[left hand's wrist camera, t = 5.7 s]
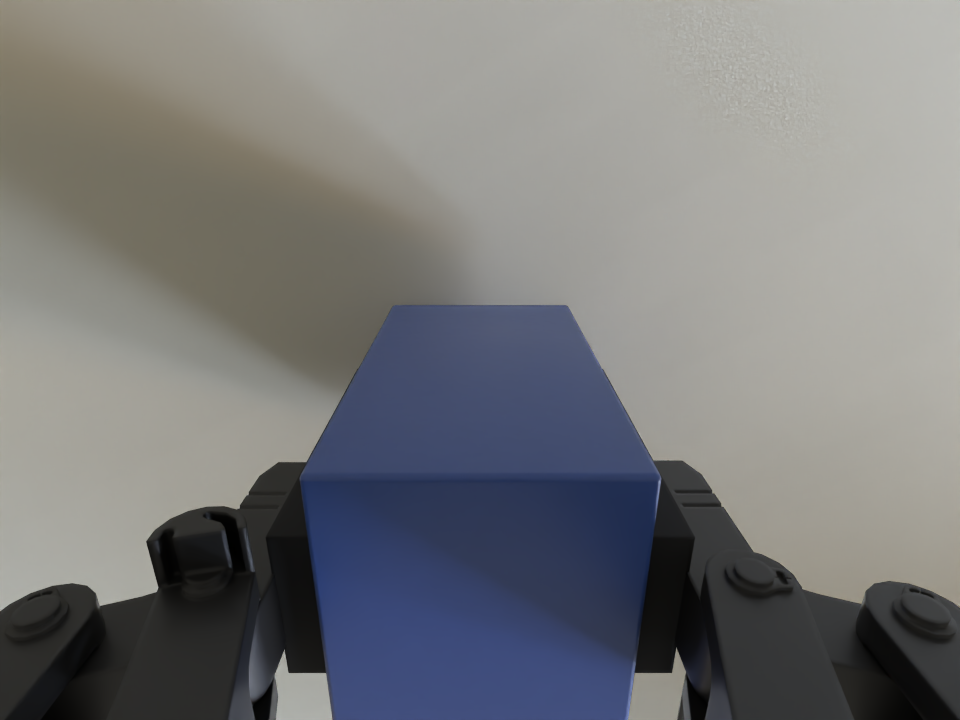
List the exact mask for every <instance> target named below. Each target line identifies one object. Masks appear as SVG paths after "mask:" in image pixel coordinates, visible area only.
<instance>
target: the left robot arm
mask: <svg viewBox="0 0 960 720" xmlns="http://www.w3.org/2000/svg"><path fill="white" fill-rule="evenodd" d="M602 370H603V369H602ZM357 371H358V369H357ZM357 371H356V373H357ZM603 372H604V370H603ZM356 373H355V374H356ZM604 373H605V372H604ZM605 375H606V374H605ZM354 376H355V375H354ZM606 377H607V376H606ZM353 378H354V377H353ZM353 378H352V380H353ZM607 379H608V377H607ZM352 380H351V382H352ZM608 381H609V379H608ZM351 382H350V384H351ZM609 382H610V381H609ZM350 384H349V385H350ZM610 384H611V383H610ZM611 386H612V385H611ZM348 387H349V386H348ZM612 388H613V386H612ZM347 389H348V388H347ZM347 389H346V391H347ZM613 390H614V388H613ZM346 391H345V393H346ZM614 392H615V390H614ZM345 393H344V395H345ZM615 393H616V392H615ZM344 395H343V396H344ZM616 395H617V394H616ZM617 397H618V396H617ZM342 398H343V397H342ZM342 398H341V400H342ZM618 399H619V397H618ZM341 400H340V402H341ZM619 401H620V399H619ZM340 402H339V404H340ZM620 403H621V401H620ZM339 404H338V406H339ZM621 404H622V403H621ZM338 406H337V407H338ZM622 406H623V405H622ZM623 408H624V407H623ZM336 409H337V408H336ZM336 409H335V411H336ZM624 410H625V408H624ZM335 411H334V413H335ZM625 412H626V410H625ZM334 413H333V415H334ZM626 413H627V412H626ZM333 415H332V417H333ZM627 415H628V414H627ZM332 417H331V418H332ZM628 417H629V416H628ZM629 419H630V417H629ZM330 420H331V419H330ZM330 420H329V422H330ZM630 421H631V419H630ZM329 422H328V424H329ZM631 423H632V421H631ZM328 424H327V426H328ZM632 424H633V423H632ZM327 426H326V428H327ZM633 426H634V425H633ZM326 428H325V429H326ZM634 428H635V427H634ZM325 429H324V431H325ZM635 430H636V428H635ZM324 431H323V433H324ZM636 432H637V430H636ZM323 433H322V435H323ZM637 434H638V432H637ZM322 435H321V437H322ZM638 435H639V434H638ZM321 437H320V439H321ZM639 437H640V436H639ZM320 439H319V440H320ZM640 439H641V438H640ZM319 440H318V442H319ZM641 441H642V439H641ZM318 442H317V444H318ZM642 443H643V441H642ZM317 444H316V446H317ZM643 444H644V443H643ZM316 446H315V448H316ZM644 446H645V445H644ZM315 448H314V450H315ZM645 448H646V447H645ZM314 450H313V451H314ZM646 450H647V448H646ZM313 451H312V453H313ZM647 452H648V450H647ZM312 453H311V455H312ZM648 454H649V452H648ZM311 455H310V457H311ZM649 455H650V454H649ZM310 457H309V459H310ZM650 457H651V456H650ZM309 459H308V461H309ZM651 459H652V458H651ZM308 461H307V462H308ZM652 461H653V459H652ZM307 462H278V463H277V464H276V465H274V466H273V467H272V468H270V469H269V470H267V471H266V472H265V473H263V474H262V475H260V476H259V478H258V479H257V481H256V482H255V484H254V485H253V487H252V488H251V490H250V491H249V495H247V496H246V497H245V499H244V500H243V502H242V503H241V505H240V509H237V510H236V509H232V508H229V507H225V506H217V507H204V508H200V509H195V510H191V511H188V512H185V513H183V514H181V515H178V516H176V517H174V518H172V519H170V520H168V521H167V522H165V523H164V524H163V525H161V526H160V527H158V528H157V529H156V530H155V531H154V532H153V533H152V535H151V536H150V537H149V539H148V540H147V541H146V542H147V546H148V550H149V554H150V557H151V561H152V565H153V569H154V572H155V576H156V580H157V584H158V587H159V588H158V590H157V592H156V593H152V594H149V595H146V596H142V597H138V598H134V599H129V600H125V601H121V602H116V603H112V604H107V605H103V606H99V603H98V599H97V596H96V593H95V592H94V591H92V590H91V589H90V588H89V587H88V586H85V585H79V584H73V583H71V584H64V585H56V586H51V587H48V588H45V589H42V590H39V591H36V592H33V593H30V594H28V595H27V596H25V597H23V598H21V599H19V600H17V601H15V602H13V603H11V604H10V605H8V606H7V607H6V608H4V609H3V610H2V611H0V720H276V711H277V702H278V693H277V686H276V680H275V672H276V669H277V667H278V664H279V662H280V659H281V657H282V654H283V651H284V649H285V654H286V660H287V666H288V672H289V673H326V667H325V660H324V652H323V645H322V638H321V631H320V623H319V616H318V609H317V602H316V594H315V587H314V580H313V572H312V565H311V558H310V551H309V543H308V536H307V529H306V522H305V514H304V507H303V500H302V492H301V485H300V476H301V473H302V472H303V470H304V468H305V466H306V464H307ZM653 463H654V465H655V466H656V468H657V470H658V472H659V474H660V476H661V484H660V492H659V499H658V506H657V513H656V520H655V528H654V535H653V542H652V549H651V557H650V564H649V571H648V578H647V586H646V593H645V600H644V607H643V615H642V622H641V629H640V636H639V644H638V651H637V658H636V665H635V672H634V673H672V669H673V664H674V658H675V652H676V647H677V650H678V652H679V655H680V657H681V660H682V663H683V665H684V668H685V670H686V675H685V680H684V686H683V691H682V697H681V702H680V707H679V713H678V719H677V720H960V608H959V607H958V606H957V605H955V604H954V603H953V602H951V601H949V600H947V599H945V598H943V597H941V596H939V595H938V594H936V593H934V592H932V591H929V590H926V589H924V588H920V587H917V586H914V585H911V584H907V583H900V582H892V581H887V582H881V583H875V584H873V585H872V586H871V587H870V588H869V589H868V590H867V591H866V592H865V596H864V599H863V602H862V604H859V603H855V602H850V601H846V600H841V599H837V598H833V597H828V596H824V595H820V594H816V593H813V592H809V591H806V590H803V589H802V587H801V585H800V584H799V582H798V581H797V579H796V578H795V576H794V575H793V574H792V573H791V572H790V571H788V570H787V569H786V568H785V567H783V566H782V565H781V564H780V563H778V562H776V561H774V560H772V559H770V558H768V557H766V556H764V555H762V554H758V553H755V552H753V550H752V549H751V547H750V546H749V544H748V543H747V542H746V540H745V539H744V537H743V536H742V534H741V533H740V531H739V530H738V528H737V527H736V525H735V524H734V522H733V521H732V519H731V518H730V516H729V515H728V513H727V512H726V510H725V509H724V507H721V503H720V501H719V500H718V498H717V497H716V495H715V494H712V489H711V488H710V486H709V485H708V484H707V482H706V481H705V479H704V478H703V476H702V475H701V474H700V473H699V472H697V471H696V470H695V469H693V468H692V467H690V466H689V465H688V464H686V463H685V462H683V461H653Z"/></svg>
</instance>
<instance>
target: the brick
mask: <svg viewBox="0 0 960 720" xmlns="http://www.w3.org/2000/svg"><path fill="white" fill-rule="evenodd" d="M660 484H661V476H660V474H659V472H658V470H657V468H656V466H655V465H654V463H653V461H652V459H651V457H650V455H649V454H648V452H647V450H646V448H645V446H644V444H643V443H642V441H641V439H640V437H639V435H638V434H637V432H636V430H635V428H634V426H633V424H632V423H631V421H630V419H629V417H628V415H627V413H626V412H625V410H624V408H623V406H622V404H621V403H620V401H619V399H618V397H617V395H616V393H615V392H614V390H613V388H612V386H611V384H610V382H609V381H608V379H607V377H606V375H605V373H604V372H603V370H602V368H601V366H600V364H599V362H598V361H597V359H596V357H595V355H594V353H593V351H592V350H591V348H590V346H589V344H588V342H587V341H586V339H585V337H584V335H583V333H582V331H581V330H580V328H579V326H578V324H577V322H576V320H575V319H574V317H573V315H572V313H571V311H570V310H569V308H568V306H566V305H395V306H393V307H392V308H391V310H390V312H389V314H388V316H387V318H386V319H385V321H384V323H383V325H382V327H381V329H380V330H379V332H378V334H377V336H376V338H375V340H374V341H373V343H372V345H371V347H370V349H369V351H368V352H367V354H366V356H365V358H364V360H363V362H362V363H361V365H360V367H359V369H358V371H357V373H356V374H355V376H354V378H353V380H352V382H351V384H350V385H349V387H348V389H347V391H346V393H345V395H344V396H343V398H342V400H341V402H340V404H339V406H338V407H337V409H336V411H335V413H334V415H333V417H332V418H331V420H330V422H329V424H328V426H327V428H326V429H325V431H324V433H323V435H322V437H321V439H320V440H319V442H318V444H317V446H316V448H315V450H314V451H313V453H312V455H311V457H310V459H309V461H308V462H307V464H306V466H305V468H304V470H303V472H302V473H301V476H300V485H301V492H302V500H303V507H304V514H305V522H306V529H307V536H308V543H309V551H310V558H311V565H312V572H313V580H314V587H315V594H316V602H317V609H318V616H319V623H320V631H321V638H322V645H323V652H324V660H325V667H326V674H327V682H328V689H329V696H330V703H331V711H332V718H333V720H628V716H629V709H630V701H631V694H632V687H633V680H634V672H635V665H636V658H637V651H638V644H639V636H640V629H641V622H642V615H643V607H644V600H645V593H646V586H647V578H648V571H649V564H650V557H651V549H652V542H653V535H654V528H655V520H656V513H657V506H658V499H659V492H660Z"/></svg>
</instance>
